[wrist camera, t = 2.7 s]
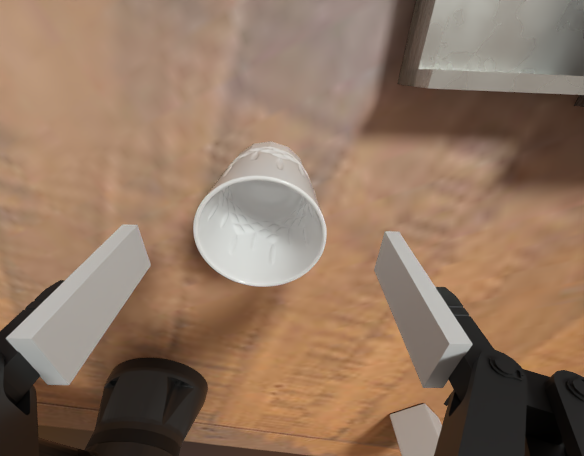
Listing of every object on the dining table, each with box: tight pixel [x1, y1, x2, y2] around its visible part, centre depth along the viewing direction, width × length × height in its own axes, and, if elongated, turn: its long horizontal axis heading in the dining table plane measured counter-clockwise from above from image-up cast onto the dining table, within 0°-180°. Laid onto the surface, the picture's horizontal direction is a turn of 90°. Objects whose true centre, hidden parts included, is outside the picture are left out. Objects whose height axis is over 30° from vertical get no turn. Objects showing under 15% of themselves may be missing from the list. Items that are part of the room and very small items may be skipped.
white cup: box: [193, 141, 327, 287], centre depth 20 cm, size 8×8×10 cm
